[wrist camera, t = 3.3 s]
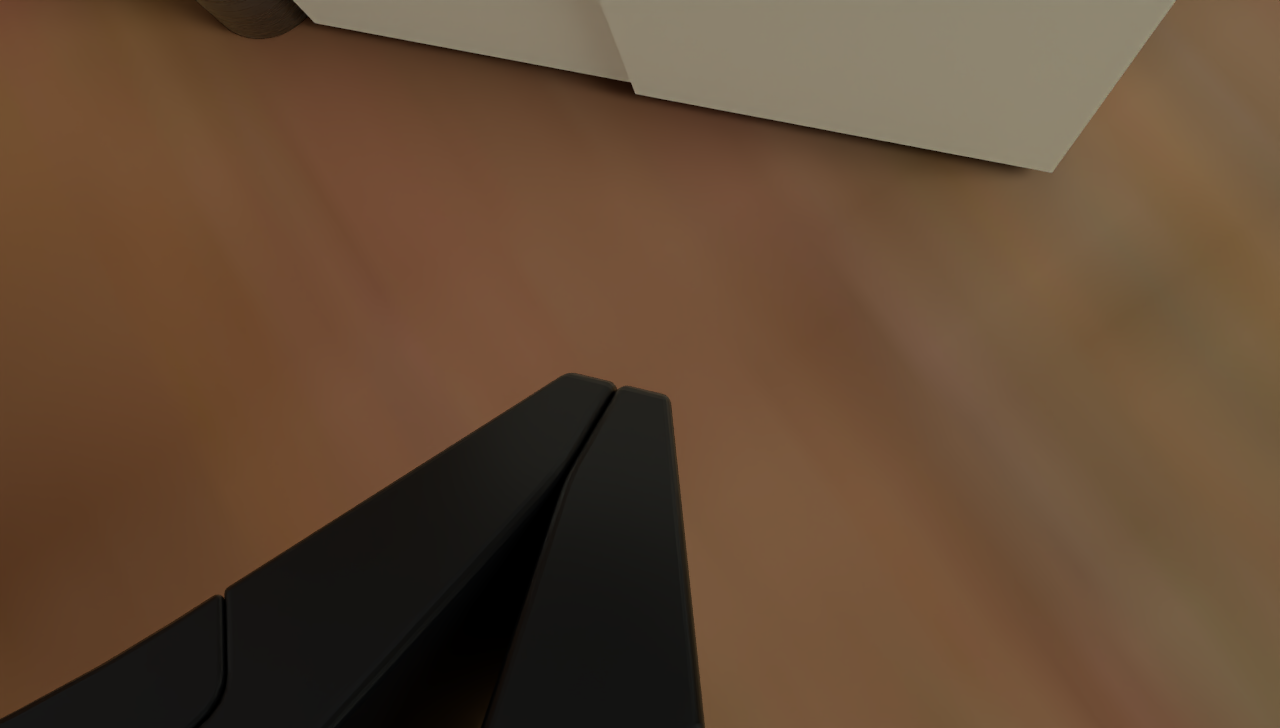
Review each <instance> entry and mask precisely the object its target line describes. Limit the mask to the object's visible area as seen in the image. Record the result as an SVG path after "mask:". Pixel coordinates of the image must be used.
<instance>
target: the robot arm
mask: <svg viewBox="0 0 1280 728" xmlns="http://www.w3.org/2000/svg"><path fill="white" fill-rule="evenodd" d="M0 728H705V723H704V713H703V704H702V694H701V685H700V675H699V666H698V656H697V647H696V637H695V628H694V618H693V608H692V599H691V589H690V580H689V570H688V561H687V551H686V542H685V532H684V523H683V513H682V504H681V494H680V484H679V475H678V465H677V456H676V446H675V437H674V427H673V418H672V408H671V402H670V400H669V398H668V397H667V396H666V395H664V394H661V393H657V392H653V391H648V390H644V389H640V388H636V387H632V386H623V387H621V388H619V389H618V390H617V387H616V386H615V385H614V384H613V383H612V382H610V381H606V380H602V379H598V378H594V377H590V376H585V375H581V374H577V373H568V374H564V375H562V376H560V377H559V378H557V379H556V380H554V381H552V382H551V383H549V384H548V385H546V386H545V387H543V388H541V389H540V390H538V391H537V392H535V393H534V394H532V395H530V396H529V397H527V398H526V399H524V400H522V401H521V402H519V403H518V404H516V405H515V406H513V407H511V408H510V409H508V410H507V411H505V412H504V413H502V414H500V415H499V416H497V417H496V418H494V419H493V420H491V421H489V422H488V423H486V424H485V425H483V426H481V427H480V428H478V429H477V430H475V431H474V432H472V433H470V434H469V435H467V436H466V437H464V438H463V439H461V440H459V441H458V442H456V443H455V444H453V445H451V446H450V447H448V448H447V449H445V450H444V451H442V452H440V453H439V454H437V455H436V456H434V457H433V458H431V459H429V460H428V461H426V462H425V463H423V464H422V465H420V466H418V467H417V468H415V469H414V470H412V471H410V472H409V473H407V474H406V475H404V476H403V477H401V478H399V479H398V480H396V481H395V482H393V483H392V484H390V485H388V486H387V487H385V488H384V489H382V490H380V491H379V492H377V493H376V494H374V495H373V496H371V497H369V498H368V499H366V500H365V501H363V502H362V503H360V504H358V505H357V506H355V507H354V508H352V509H351V510H349V511H347V512H346V513H344V514H343V515H341V516H339V517H338V518H336V519H335V520H333V521H332V522H330V523H328V524H327V525H325V526H324V527H322V528H321V529H319V530H317V531H316V532H314V533H313V534H311V535H309V536H308V537H306V538H305V539H303V540H302V541H300V542H298V543H297V544H295V545H294V546H292V547H291V548H289V549H287V550H286V551H284V552H283V553H281V554H280V555H278V556H276V557H275V558H273V559H272V560H270V561H268V562H267V563H265V564H264V565H262V566H261V567H259V568H257V569H256V570H254V571H253V572H251V573H250V574H248V575H246V576H245V577H243V578H242V579H240V580H239V581H237V582H235V583H234V584H232V585H231V586H229V587H228V588H226V590H225V593H224V598H223V597H222V596H221V595H214V596H213V597H211V598H209V599H208V600H206V601H205V602H203V603H201V604H200V605H198V606H197V607H195V608H194V609H192V610H190V611H189V612H187V613H186V614H184V615H183V616H181V617H179V618H178V619H176V620H175V621H173V622H171V623H170V624H168V625H166V626H165V627H163V628H161V629H160V630H158V631H156V632H155V633H153V634H152V635H150V636H148V637H147V638H145V639H143V640H142V641H140V642H138V643H137V644H135V645H133V646H132V647H130V648H128V649H127V650H125V651H123V652H122V653H120V654H118V655H117V656H115V657H113V658H112V659H110V660H108V661H107V662H105V663H103V664H102V665H100V666H98V667H96V668H94V669H92V670H91V671H89V672H87V673H85V674H83V675H81V676H80V677H78V678H76V679H74V680H72V681H70V682H68V683H67V684H65V685H63V686H61V687H59V688H57V689H56V690H54V691H52V692H50V693H48V694H46V695H45V696H43V697H41V698H39V699H37V700H35V701H34V702H32V703H30V704H28V705H26V706H24V707H22V708H21V709H19V710H17V711H15V712H13V713H11V714H9V715H7V716H5V717H3V718H1V719H0Z"/></svg>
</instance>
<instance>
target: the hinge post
mask: <svg viewBox="0 0 1280 728" xmlns="http://www.w3.org/2000/svg"><path fill="white" fill-rule="evenodd" d="M196 1H197V2H198V3H199V4H200V5H202V6H203V7H204V8H205V9H206V10H207V11H208V12H210V13H211V14H212V15H213V16H214V17H215V18H217V19H218V20H219V21H220V22H221V23H222V24H223V25H225V26H226V27H227V28H228V29H229V30H231V31H233V32H234V33H236V34H239V35H241V36H244V37H248V38H255V39H264V38H271V37H275V36H278V35H281V34H283V33H286V32H287V31H289V30H291V29H293V28H294V27H295V26H297V25H298V24H299V23H300V22H302V21H303V20H304V19H305V18H306V16H307V14H306V13H305V12H304V11H303V10H302V9H301V8H300V7H299V6H298V5H297V4H296V3H295V2H294V1H293V0H196Z"/></svg>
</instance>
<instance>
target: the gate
mask: <svg viewBox="0 0 1280 728" xmlns="http://www.w3.org/2000/svg"><path fill="white" fill-rule="evenodd" d="M293 1H294V2H295V3H296V4H297V5H298V6H299V7H300V8H301V9H302V10H303V11H304V12H305V13H306V14H307V15H308V16H309V18H310V19H311V20H312V21H313V22H314V23H317V24H322V25H327V26H333V27H338V28H343V29H349V30H354V31H359V32H365V33H370V34H375V35H381V36H386V37H391V38H397V39H402V40H407V41H413V42H418V43H423V44H429V45H434V46H439V47H445V48H450V49H455V50H461V51H466V52H471V53H477V54H482V55H487V56H493V57H498V58H503V59H509V60H514V61H519V62H525V63H530V64H535V65H541V66H546V67H551V68H557V69H562V70H567V71H573V72H578V73H583V74H589V75H594V76H599V77H605V78H610V79H615V80H621V81H626V82H631V84H632V87H633V89H634V92H635V94H638V95H643V96H649V97H654V98H659V99H665V100H670V101H675V102H680V103H686V104H691V105H696V106H702V107H707V108H712V109H717V110H723V111H728V112H733V113H739V114H744V115H749V116H754V117H760V118H765V119H770V120H775V121H781V122H786V123H791V124H797V125H802V126H807V127H812V128H818V129H823V130H828V131H834V132H839V133H844V134H849V135H855V136H860V137H865V138H871V139H876V140H881V141H886V142H892V143H897V144H902V145H908V146H913V147H918V148H923V149H929V150H934V151H939V152H945V153H950V154H955V155H960V156H966V157H971V158H976V159H982V160H987V161H992V162H997V163H1003V164H1008V165H1013V166H1019V167H1024V168H1029V169H1034V170H1040V171H1045V172H1050V173H1052V172H1053V171H1054V169H1055V168H1056V167H1057V165H1058V164H1059V163H1060V161H1061V160H1062V158H1063V157H1064V156H1065V154H1066V153H1067V151H1068V150H1069V149H1070V147H1071V146H1072V144H1073V143H1074V142H1075V140H1076V139H1077V137H1078V136H1079V135H1080V133H1081V132H1082V130H1083V129H1084V128H1085V126H1086V125H1087V124H1088V122H1089V121H1090V119H1091V118H1092V117H1093V115H1094V114H1095V112H1096V111H1097V110H1098V108H1099V107H1100V105H1101V104H1102V103H1103V101H1104V100H1105V98H1106V97H1107V96H1108V94H1109V93H1110V92H1111V90H1112V89H1113V87H1114V86H1115V85H1116V83H1117V82H1118V80H1119V79H1120V78H1121V76H1122V75H1123V73H1124V72H1125V71H1126V69H1127V68H1128V66H1129V65H1130V64H1131V62H1132V61H1133V59H1134V58H1135V57H1136V55H1137V54H1138V53H1139V51H1140V50H1141V48H1142V47H1143V46H1144V44H1145V43H1146V41H1147V40H1148V39H1149V37H1150V36H1151V34H1152V33H1153V32H1154V30H1155V29H1156V27H1157V26H1158V25H1159V23H1160V22H1161V21H1162V19H1163V18H1164V16H1165V15H1166V14H1167V12H1168V11H1169V9H1170V8H1171V7H1172V5H1173V4H1174V2H1175V1H1176V0H293Z"/></svg>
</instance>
